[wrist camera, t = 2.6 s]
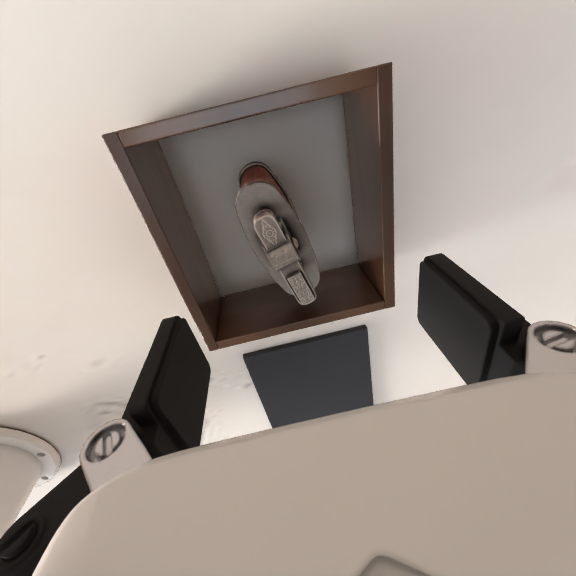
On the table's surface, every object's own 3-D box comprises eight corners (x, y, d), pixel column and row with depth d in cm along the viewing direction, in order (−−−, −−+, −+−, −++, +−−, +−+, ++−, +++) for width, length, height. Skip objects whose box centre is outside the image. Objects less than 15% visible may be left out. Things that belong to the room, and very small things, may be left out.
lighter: (228, 174, 22) (217, 215, 14) (267, 152, 22) (279, 181, 13) (277, 257, 27) (290, 326, 18) (310, 239, 26) (340, 303, 18)
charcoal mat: (282, 448, 43) (282, 452, 43) (243, 354, 32) (243, 358, 32) (373, 426, 43) (375, 430, 42) (365, 324, 32) (367, 328, 32)
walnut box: (216, 304, 28) (209, 351, 23) (140, 127, 20) (100, 135, 15) (366, 268, 28) (395, 306, 23) (352, 74, 20) (392, 61, 14)
